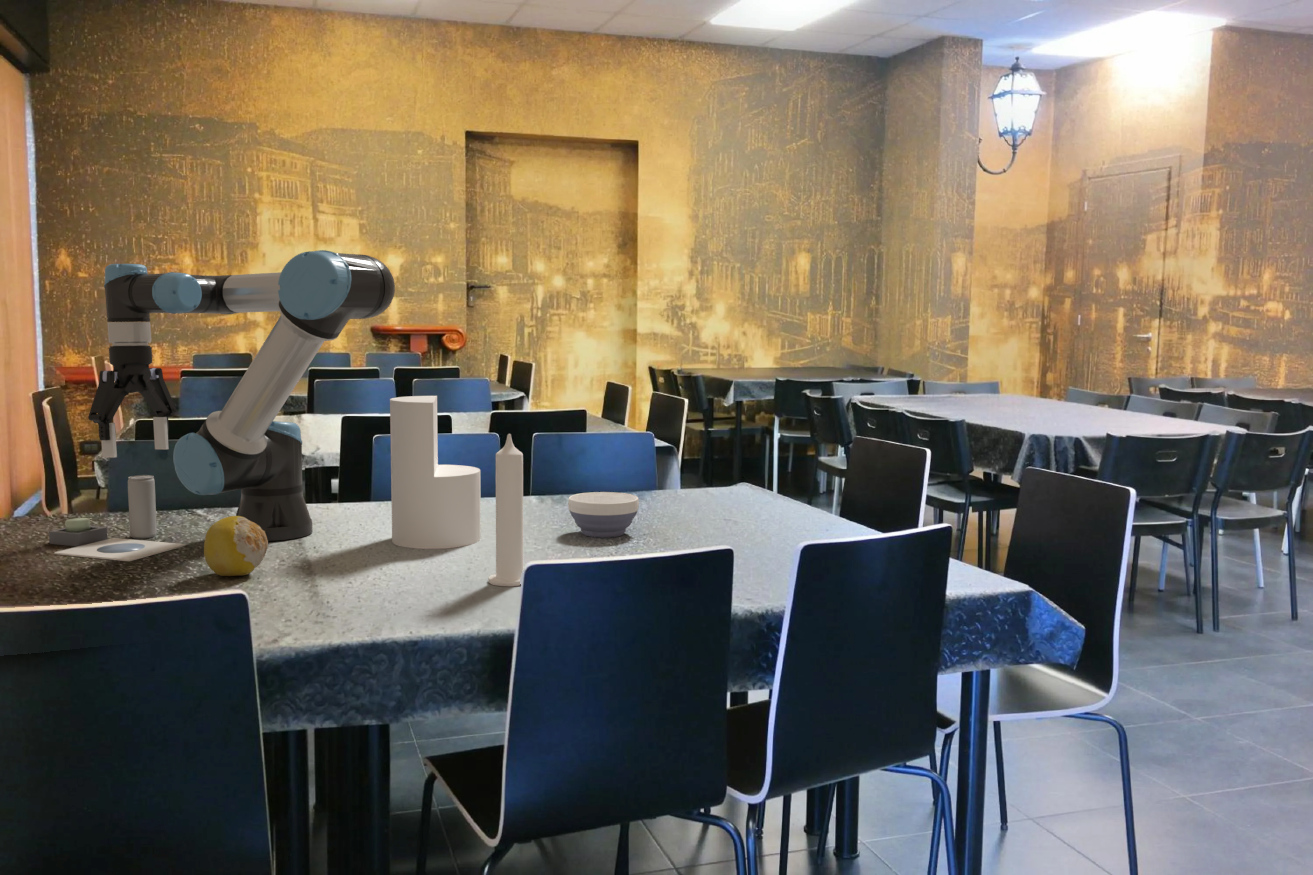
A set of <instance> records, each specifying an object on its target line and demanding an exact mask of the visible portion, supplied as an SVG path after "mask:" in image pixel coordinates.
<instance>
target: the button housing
mask: <svg viewBox="0 0 1313 875" xmlns="http://www.w3.org/2000/svg"><path fill="white" fill-rule="evenodd" d="M90 529H91V530H88V531H83V532H66V527H63V528H58V529H54V530H50V531H48V541H49V542H48V543H49V544H50V545H58V546H59V545H60V546H69V547H78V546H82V545H86V544H90V543H94V542H99V541H103V540H107V539H108V527H106V526H97V525H90Z"/></svg>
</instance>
